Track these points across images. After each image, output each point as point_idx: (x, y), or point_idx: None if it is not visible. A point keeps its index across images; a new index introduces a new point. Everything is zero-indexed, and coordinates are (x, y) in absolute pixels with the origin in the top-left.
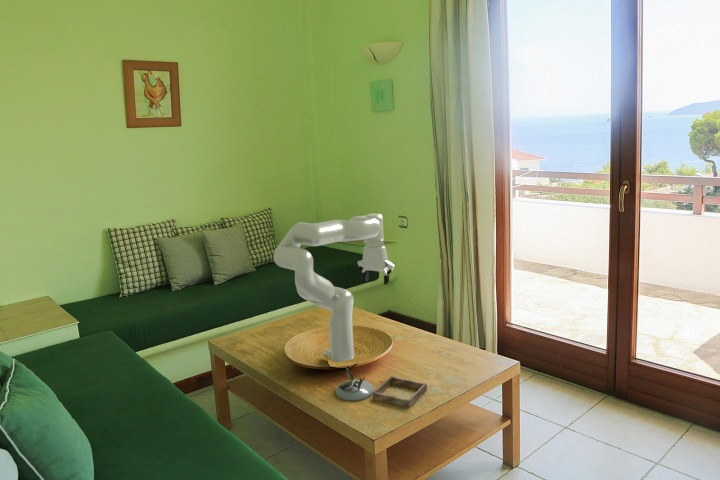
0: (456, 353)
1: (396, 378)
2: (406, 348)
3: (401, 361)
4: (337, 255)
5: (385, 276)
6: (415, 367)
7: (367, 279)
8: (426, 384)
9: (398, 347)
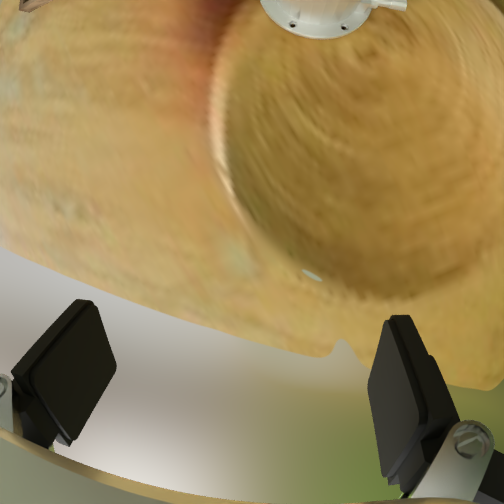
0: (48, 221)
1: None
2: (169, 188)
3: (134, 91)
4: None
5: (21, 371)
6: (84, 82)
7: (378, 374)
8: (19, 9)
9: (197, 183)
